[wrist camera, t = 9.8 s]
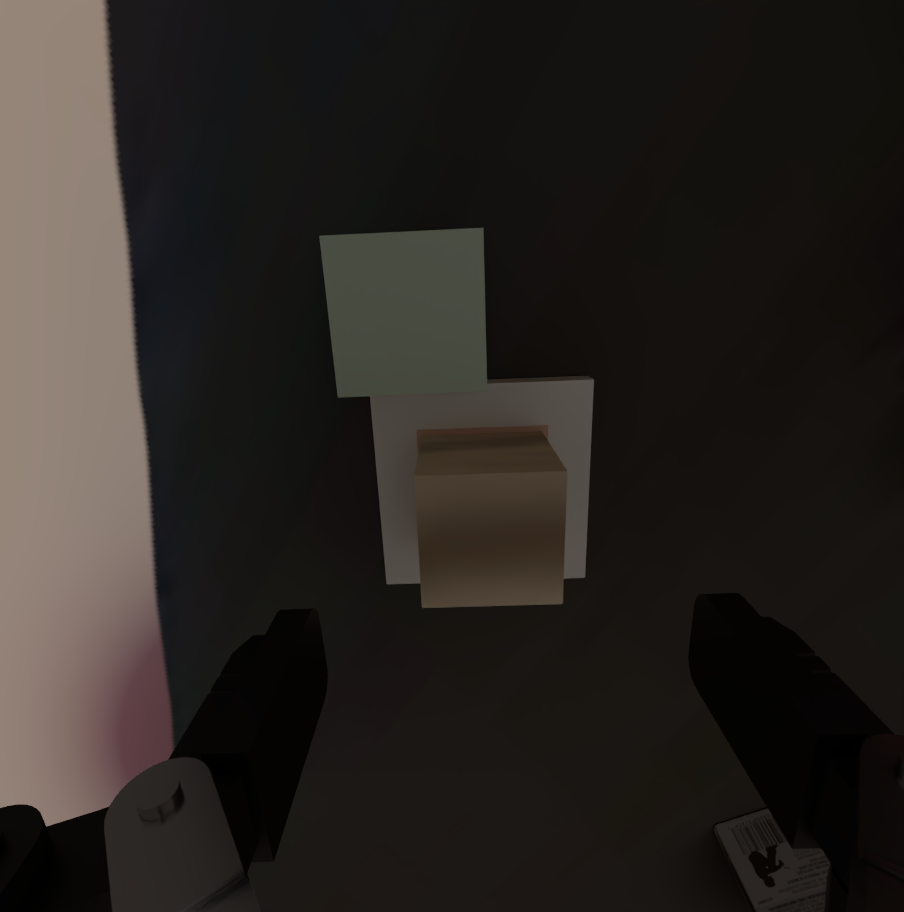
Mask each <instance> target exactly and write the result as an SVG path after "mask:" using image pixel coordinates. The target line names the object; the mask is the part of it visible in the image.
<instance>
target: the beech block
mask: <svg viewBox="0 0 904 912" xmlns="http://www.w3.org/2000/svg"><path fill="white" fill-rule="evenodd" d="M567 472H568V471H567V469H566V468H565V466H564V465H563V463H562V462H561V460H560V459H559V457H558V455H557V454H556V452H555V451H554V449H553V448H552V446H551V445H550V443H549V441H548V440H547V438H546V437H545V435H544V434H543V432H542V431H538V432H507V433H477V434H446V435H423V436H422V441H421V445H420V450H419V455H418V460H417V464H416V469H415V474H414V484H415V501H416V517H417V534H418V550H419V567H420V583H421V600H422V608H439V607H474V606H509V605H544V604H563V582H564V554H565V527H566V499H567Z"/></svg>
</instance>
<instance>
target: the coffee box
mask: <svg viewBox="0 0 904 912" xmlns="http://www.w3.org/2000/svg"><path fill="white" fill-rule="evenodd" d="M714 832H715V834H716V837H717V839H718V841H719V843H720V845H721V848H722V850H723V852H724V854H725V857H726V859H727V861H728V863H729V866H730V868H731V870H732V872H733V874H734V877H735V879H736V881H737V883H738V886H739V888H740V890H741V892H742V895H743V897H744V899H745V901H746V903H747V906H748V908H749V910H750V912H824V909H825V895H826V882H827V875H828V870H829V866H830V861H829V860H828V858H827V857H826V855H825V854H824V852H823V851H822V849H821V848H810V849H792V848H791V846H790V845H789V843H788V841H787V840H786V838H785V836H784V835H783V833H782V831H781V830H780V828H779V826H778V825H777V823H776V821H775V819H774V818H773V816H772V814H771V813H770V811H769V809H768V808H767V809H764V810H761V811H757V812H754V813H751V814H748V815H745V816H741V817H738V818H735V819H732V820H729V821H726V822H722V823H719V824H716V825H715V826H714Z"/></svg>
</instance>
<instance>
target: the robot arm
mask: <svg viewBox="0 0 904 912" xmlns="http://www.w3.org/2000/svg"><path fill="white" fill-rule="evenodd" d="M688 657H689V668H690V673H691V677H692V680H693V682H694V685H695V687H696V689H697V690H698V692H699V694H700V695H701V697H702V699H703V700H704V702H705V704H706V705H707V707H708V709H709V710H710V712H711V714H712V715H713V717H714V719H715V720H716V722H717V724H718V726H719V727H720V729H721V731H722V732H723V734H724V736H725V737H726V739H727V741H728V742H729V744H730V746H731V747H732V749H733V751H734V752H735V754H736V756H737V757H738V759H739V761H740V762H741V764H742V766H743V767H744V769H745V771H746V772H747V774H748V776H749V778H750V779H751V781H752V783H753V784H754V786H755V788H756V789H757V791H758V793H759V794H760V796H761V798H762V799H763V801H764V803H765V804H766V806H767V808H768V809H769V811H770V813H771V814H772V816H773V818H774V819H775V821H776V823H777V825H778V826H779V828H780V830H781V831H782V833H783V835H784V836H785V838H786V840H787V841H788V843H789V845H790V846H791V848H792V849H810V848H821V849H822V851H823V852H824V854H825V855H826V857H827V858H828V860H829V861H830V866H829V870H828V875H827V882H826V895H825V909H824V912H904V736H901V735H895V734H894V733H893V732H892V731H891V730H890V729H889V728H888V727H887V726H886V725H885V724H884V723H883V722H882V721H881V720H880V719H879V718H878V717H877V716H876V715H875V714H874V713H873V712H872V711H871V710H870V709H869V708H868V706H867V705H866V704H865V703H864V702H863V701H862V700H861V699H860V698H859V697H858V696H857V695H856V694H855V693H854V692H853V691H852V690H851V689H850V688H849V687H848V686H847V685H846V684H845V683H844V682H843V681H842V680H841V679H840V678H839V677H838V676H837V675H836V674H835V673H832V672H831V669H830V668H829V667H828V665H827V664H826V663H825V662H824V661H823V660H822V659H821V658H820V657H819V656H815V652H814V651H813V650H812V649H811V648H810V647H809V646H808V645H807V644H806V643H805V642H804V641H803V640H802V639H801V638H800V637H799V636H798V635H797V634H796V633H795V632H793V631H792V630H790V629H788V628H787V627H785V626H784V625H782V624H780V623H779V622H777V621H775V620H774V619H772V618H770V617H761V616H760V615H759V614H758V613H757V612H756V611H755V609H754V608H753V607H752V606H751V605H750V604H749V603H748V602H747V601H746V600H745V599H744V597H742V596H741V595H740V594H738V593H721V594H700V595H698V596H697V598H696V600H695V604H694V612H693V621H692V629H691V638H690V646H689V656H688ZM327 678H328V674H327V663H326V657H325V651H324V644H323V638H322V631H321V625H320V619H319V614H318V612H317V610H316V609H291V610H280V611H278V612H277V614H276V616H275V618H274V619H273V621H272V623H271V625H270V627H269V629H268V631H267V632H266V634H265V635H255V636H252V637H251V638H250V639H248V640H247V641H246V642H245V643H244V644H243V645H241V646H240V647H239V648H238V649H237V650H236V651H234V652H233V653H232V655H231V657H230V658H229V660H228V662H227V663H226V665H225V667H224V668H223V670H222V672H221V676H220V677H218V678H217V680H216V682H215V683H214V685H213V687H212V688H211V693H210V694H208V695H207V697H206V698H205V700H204V702H203V703H202V705H201V706H200V708H199V710H198V711H197V713H196V715H195V716H194V718H193V720H192V721H191V723H190V725H189V726H188V728H187V730H186V731H185V733H184V735H183V736H182V738H181V740H180V741H179V743H178V745H177V746H176V748H175V750H174V751H173V753H172V755H171V756H170V758H169V760H167V761H163V762H161V763H158V764H156V765H154V766H152V767H150V768H148V769H147V770H145V771H143V772H142V773H140V774H139V775H138V776H136V777H135V778H134V779H132V780H131V781H130V782H129V783H128V784H127V785H126V786H125V787H124V788H123V789H122V790H121V791H120V792H119V794H118V795H117V796H116V797H115V799H114V800H113V802H112V803H111V805H110V806H109V807H107V808H104V809H101V810H98V811H95V812H92V813H89V814H85V815H82V816H79V817H76V818H73V819H70V820H66V821H63V822H60V823H57V824H54V825H51V826H47V827H46V825H45V823H44V820H43V818H42V816H41V813H40V812H39V811H38V810H37V809H36V808H34V807H32V806H29V805H12V806H7V807H3V808H0V912H261V911H260V908H259V905H258V902H257V899H256V896H255V893H254V890H253V888H252V885H251V882H250V880H249V877H248V875H247V872H248V869H249V867H250V864H251V862H269V861H274V859H275V856H276V853H277V849H278V846H279V843H280V840H281V837H282V834H283V830H284V827H285V824H286V821H287V818H288V815H289V811H290V808H291V805H292V802H293V799H294V795H295V792H296V789H297V786H298V783H299V780H300V776H301V773H302V770H303V767H304V764H305V761H306V757H307V754H308V751H309V748H310V745H311V741H312V738H313V735H314V732H315V729H316V726H317V722H318V719H319V716H320V713H321V710H322V707H323V703H324V700H325V696H326V690H327Z"/></svg>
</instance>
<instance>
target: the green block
mask: <svg viewBox="0 0 904 912" xmlns="http://www.w3.org/2000/svg"><path fill="white" fill-rule="evenodd" d="M319 237H320V246H321V254H322V263H323V272H324V281H325V289H326V298H327V307H328V316H329V324H330V333H331V342H332V351H333V359H334V368H335V377H336V386H337V395H338V398H339V397H362V396H385V395H408V394H431V393H453V392H476V391H487V361H486V319H485V278H484V236H483V228H470V229H450V230H430V231H409V232H389V233H368V234H348V235H328V236H319Z"/></svg>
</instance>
